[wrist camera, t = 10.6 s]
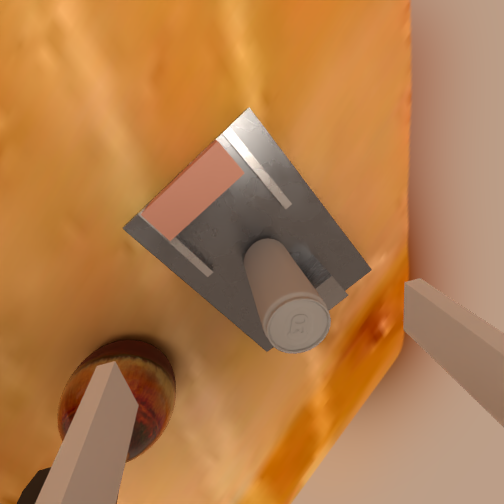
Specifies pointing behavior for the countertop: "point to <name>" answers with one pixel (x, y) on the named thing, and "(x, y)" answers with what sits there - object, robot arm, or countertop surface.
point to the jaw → (192, 191)
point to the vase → (140, 383)
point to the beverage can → (285, 298)
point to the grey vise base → (255, 231)
